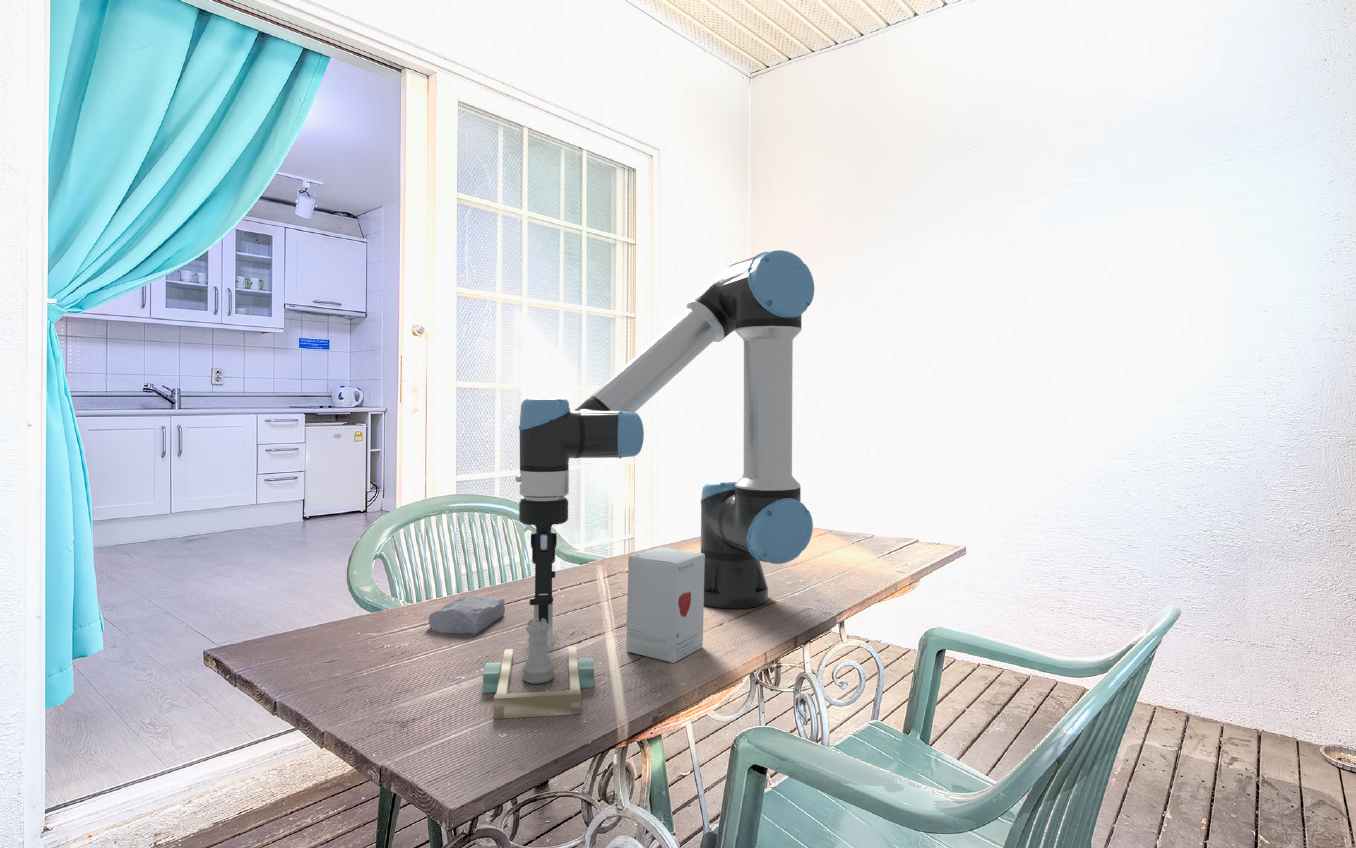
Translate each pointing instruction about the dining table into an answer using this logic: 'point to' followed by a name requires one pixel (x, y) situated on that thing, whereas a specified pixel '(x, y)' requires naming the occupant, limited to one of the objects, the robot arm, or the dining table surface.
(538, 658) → the rook chess piece
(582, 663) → the beam track
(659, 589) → the supplement box
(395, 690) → the dining table surface
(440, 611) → the stone block
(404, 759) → the dining table surface
